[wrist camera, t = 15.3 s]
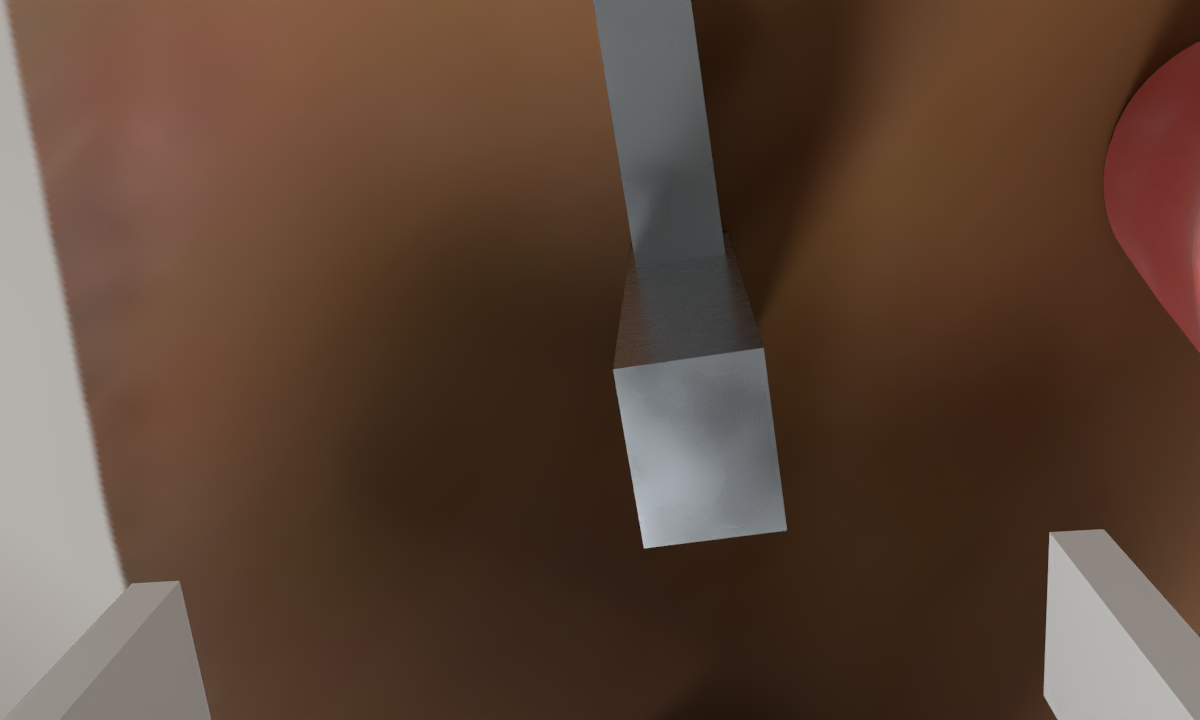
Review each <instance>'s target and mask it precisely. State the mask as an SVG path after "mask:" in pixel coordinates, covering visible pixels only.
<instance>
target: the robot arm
mask: <svg viewBox="0 0 1200 720" xmlns="http://www.w3.org/2000/svg"><path fill="white" fill-rule="evenodd" d="M1044 697H1045V699H1046V700H1047V702H1048V704H1049V706H1050V707H1051V709H1052V711H1053V713H1054V714H1055V716H1056V718H1057V720H1200V637H1199V636H1198V635H1197V634H1196V633H1195V632H1194V631H1193V629H1192V628H1191V627H1190V626H1189V625H1188V624H1187V623H1186V622H1185V620H1184V619H1183V618H1182V617H1181V616H1180V615H1179V614H1178V612H1177V611H1176V610H1175V609H1174V608H1173V607H1172V606H1171V605H1170V603H1169V602H1168V601H1167V600H1166V599H1165V598H1164V597H1163V596H1162V594H1161V593H1160V592H1159V591H1158V590H1157V589H1156V588H1155V586H1154V585H1153V584H1152V583H1151V582H1150V581H1149V580H1148V579H1147V577H1146V576H1145V575H1144V574H1143V573H1142V572H1141V571H1140V570H1139V568H1138V567H1137V566H1136V565H1135V564H1134V563H1133V562H1132V561H1131V559H1130V558H1129V557H1128V556H1127V555H1126V554H1125V553H1124V551H1123V550H1122V549H1121V548H1120V547H1119V546H1118V545H1117V544H1116V542H1115V541H1114V540H1113V539H1112V538H1111V537H1110V536H1109V535H1108V533H1107V532H1106V531H1105V530H1104V529H1097V530H1079V531H1061V532H1049V559H1048V586H1047V614H1046V641H1045V668H1044ZM3 720H211V716H210V712H209V708H208V703H207V699H206V694H205V690H204V686H203V681H202V677H201V673H200V668H199V664H198V659H197V655H196V651H195V646H194V642H193V637H192V633H191V629H190V624H189V620H188V615H187V611H186V607H185V602H184V598H183V594H182V589H181V585H180V581H166V582H149V583H132V584H131V585H130V586H129V587H128V588H127V589H126V590H125V591H124V592H123V594H122V595H121V596H120V597H119V598H118V599H117V600H116V601H115V602H114V603H113V604H112V605H111V606H110V607H109V608H108V609H107V611H105V613H104V614H103V615H102V616H101V617H100V618H99V619H98V620H97V621H96V622H95V623H94V624H93V625H92V626H91V627H90V628H89V630H88V631H87V632H86V633H85V634H84V635H83V636H82V637H81V638H80V639H79V640H78V641H77V642H76V643H75V645H73V646H72V647H71V649H70V650H69V651H68V652H67V653H66V654H65V655H64V656H63V657H62V658H61V659H60V660H59V661H58V662H57V664H55V665H54V666H53V668H52V669H51V670H50V671H49V672H48V673H47V674H46V675H45V676H44V677H43V678H42V679H41V680H40V681H39V682H38V683H37V685H35V687H34V688H33V689H32V690H31V691H30V692H29V693H28V694H27V695H26V696H25V697H24V698H23V699H22V700H21V701H20V702H19V703H18V705H17V706H16V707H15V708H14V709H13V710H12V711H11V712H10V713H9V714H8V715H7V716H6V717H5V718H4V719H3Z"/></svg>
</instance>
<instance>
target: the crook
mask: <svg viewBox="0 0 1200 720" xmlns="http://www.w3.org/2000/svg"><path fill="white" fill-rule="evenodd" d="M593 4H594V11H595V17H596V23H597V29H598V35H599V42H600V48H601V54H602V60H603V66H604V73H605V79H606V85H607V91H608V97H609V104H610V110H611V116H612V122H613V128H614V135H615V141H616V147H617V153H618V159H619V166H620V172H621V178H622V184H623V190H624V197H625V203H626V209H627V215H628V221H629V227H630V234H631V240H632V246H633V247H630V252H629V259H628V266H627V273H626V280H625V287H624V294H623V302H622V309H621V316H620V323H619V330H618V337H617V344H616V351H615V358H614V365H613V373H614V378H615V384H616V390H617V396H618V402H619V407H620V413H621V419H622V425H623V430H624V436H625V442H626V448H627V454H628V459H629V465H630V471H631V477H632V483H633V488H634V494H635V500H636V506H637V511H638V517H639V523H640V529H641V535H642V540H643V546H644V548H652V547H660V546H668V545H676V544H684V543H692V542H700V541H708V540H716V539H724V538H732V537H740V536H748V535H756V534H763V533H771V532H779V531H787V525H786V517H785V510H784V502H783V494H782V486H781V478H780V471H779V463H778V455H777V447H776V440H775V432H774V424H773V416H772V408H771V401H770V393H769V385H768V377H767V370H766V362H765V354H764V347H763V344H762V341H761V337H760V334H759V331H758V328H757V324H756V321H755V318H754V315H753V311H752V308H751V305H750V302H749V298H748V295H747V292H746V289H745V285H744V282H743V279H742V276H741V272H740V269H739V266H738V263H737V259H736V256H735V253H734V250H733V246H732V243H731V240H730V237H729V233H728V232H724V233H722V225H721V218H720V211H719V203H718V196H717V189H716V181H715V174H714V167H713V159H712V152H711V144H710V137H709V130H708V122H707V115H706V108H705V100H704V93H703V86H702V78H701V71H700V64H699V56H698V49H697V41H696V34H695V27H694V19H693V12H692V5H691V0H593Z"/></svg>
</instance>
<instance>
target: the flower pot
mask: <svg viewBox="0 0 1200 720" xmlns="http://www.w3.org/2000/svg"><path fill="white" fill-rule="evenodd" d="M1103 190H1104V201H1105V207H1106V212H1107V216H1108V219H1109V222H1110V225H1111V228H1112V231H1113V233H1114V235H1115V237H1116V239H1117V241H1118V243H1119V244H1120V246H1121V248H1122V249H1123V250H1124V252H1125V253H1126V255H1127V256H1128V258H1129V259H1130V261H1131V262H1132V264H1133V265H1134V266H1135V268H1136V269H1137V271H1138V272H1139V273H1140V275H1141V276H1142V278H1143V279H1144V280H1145V282H1146V283H1147V285H1148V286H1149V288H1150V289H1151V291H1152V292H1153V293H1154V295H1155V296H1156V297H1157V299H1158V300H1159V301H1160V303H1161V304H1162V305H1163V307H1164V308H1165V309H1166V311H1167V312H1168V313H1169V315H1170V316H1171V317H1172V318H1173V320H1174V321H1175V322H1176V323H1177V324H1178V326H1179V327H1180V328H1181V330H1182V331H1183V332H1184V333H1185V335H1186V336H1187V337H1188V339H1189V340H1190V341H1191V342H1192V344H1193V345H1194V346H1195V348H1196V349H1197V350H1198V351H1199V353H1200V41H1199V42H1197V43H1195V44H1193V45H1191V46H1190V47H1188V48H1186V49H1184V50H1183V51H1181V52H1180V53H1178V54H1177V55H1175V56H1174V57H1173V58H1171V59H1170V60H1169V61H1167V62H1166V63H1165V64H1164V65H1162V66H1161V67H1160V68H1159V69H1158V70H1157V71H1156V72H1154V73H1153V74H1152V75H1151V76H1150V77H1149V78H1148V79H1147V80H1146V81H1145V83H1144V84H1143V85H1142V86H1141V87H1140V88H1139V90H1138V91H1137V92H1136V93H1135V95H1134V96H1133V97H1132V99H1131V100H1130V102H1129V103H1128V105H1127V107H1126V108H1125V110H1124V112H1123V113H1122V115H1121V117H1120V119H1119V121H1118V123H1117V125H1116V127H1115V130H1114V133H1113V136H1112V139H1111V142H1110V145H1109V147H1108V150H1107V155H1106V160H1105V167H1104V177H1103Z"/></svg>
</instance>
